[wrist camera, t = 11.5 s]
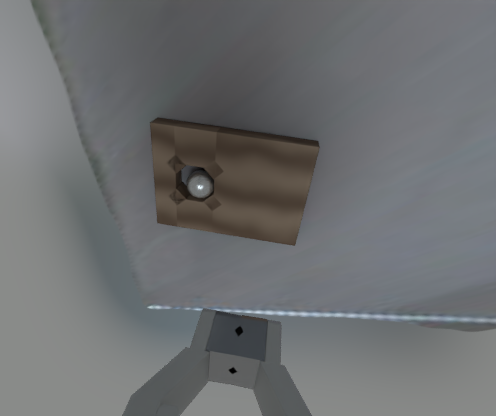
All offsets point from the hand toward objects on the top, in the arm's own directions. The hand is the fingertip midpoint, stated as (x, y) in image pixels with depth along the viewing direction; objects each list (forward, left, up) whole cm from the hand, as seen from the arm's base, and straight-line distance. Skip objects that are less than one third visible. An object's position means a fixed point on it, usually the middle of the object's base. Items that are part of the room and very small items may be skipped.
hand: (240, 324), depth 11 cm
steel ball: (+10, -9, -29) cm, 32 cm away
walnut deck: (+10, -5, -31) cm, 33 cm away
